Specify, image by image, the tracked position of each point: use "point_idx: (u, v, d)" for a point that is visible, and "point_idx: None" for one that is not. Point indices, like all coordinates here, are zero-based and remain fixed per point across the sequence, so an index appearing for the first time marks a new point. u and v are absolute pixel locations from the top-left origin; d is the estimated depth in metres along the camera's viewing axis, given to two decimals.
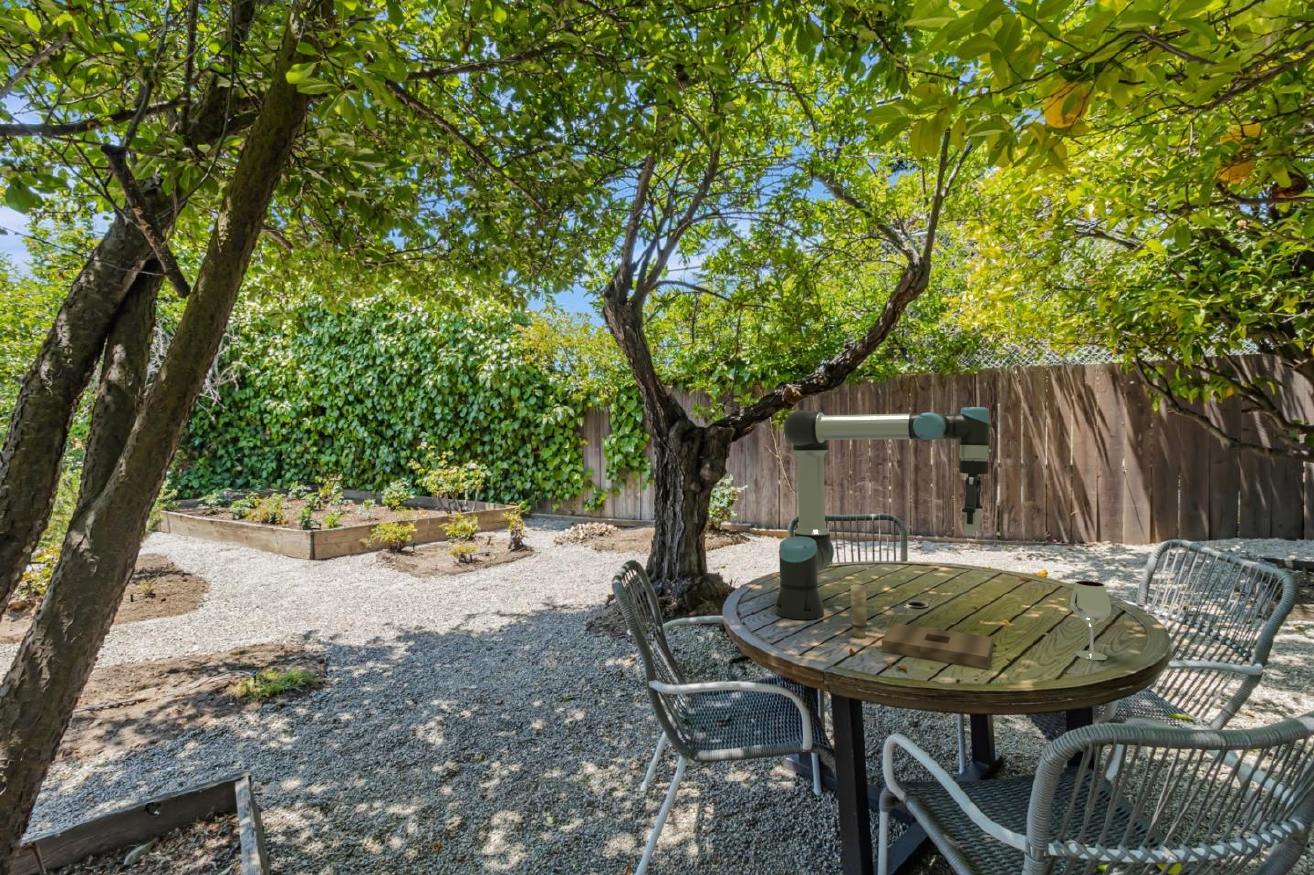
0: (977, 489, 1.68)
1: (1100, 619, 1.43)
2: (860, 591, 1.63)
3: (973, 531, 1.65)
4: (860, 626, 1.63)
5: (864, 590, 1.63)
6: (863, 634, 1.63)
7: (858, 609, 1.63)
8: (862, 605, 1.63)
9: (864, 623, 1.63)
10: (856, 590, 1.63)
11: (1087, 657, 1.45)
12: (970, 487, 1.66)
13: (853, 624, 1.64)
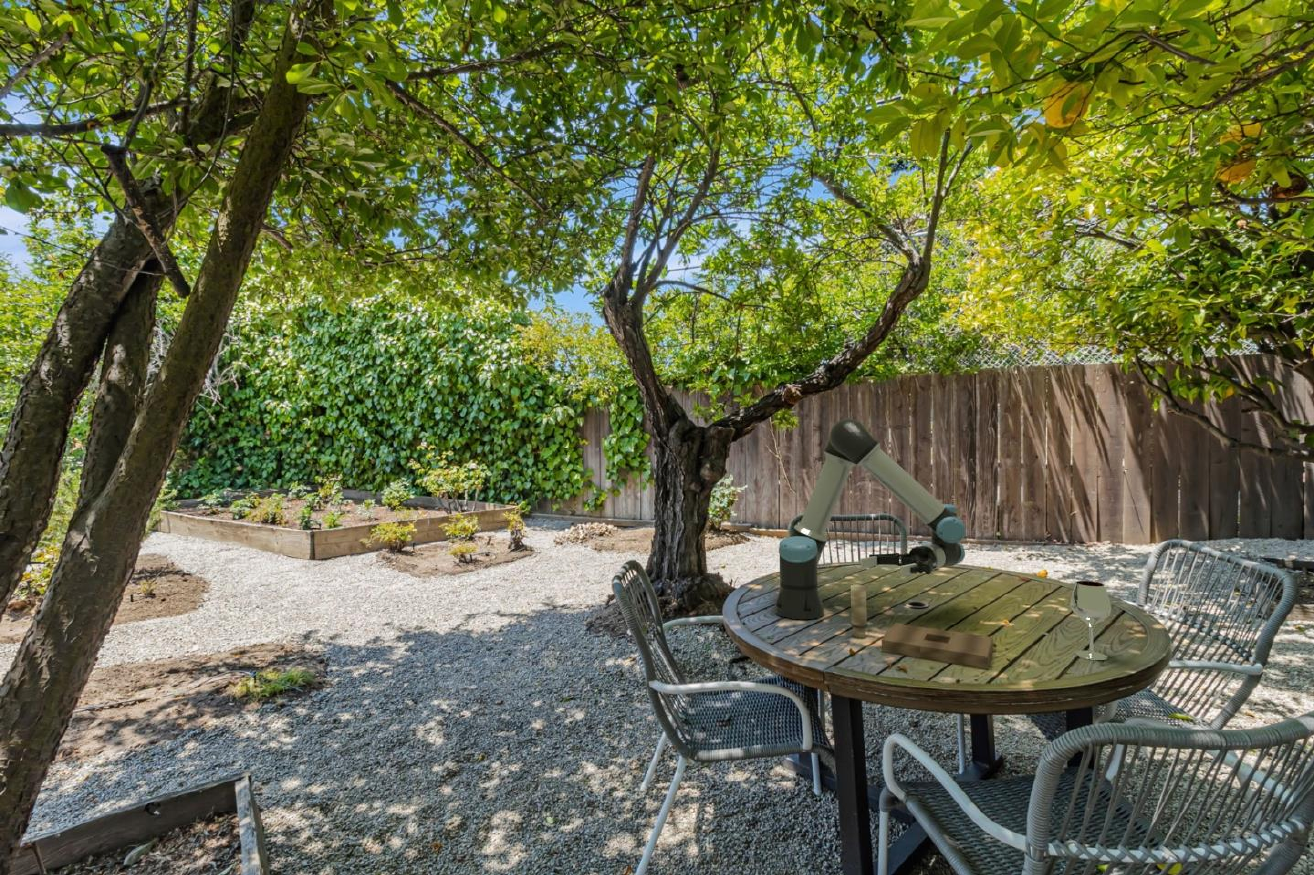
0: None
1: (1100, 619, 1.43)
2: (860, 591, 1.63)
3: (905, 574, 1.64)
4: (860, 626, 1.63)
5: (864, 590, 1.63)
6: (863, 634, 1.63)
7: (858, 609, 1.63)
8: (862, 605, 1.63)
9: (864, 623, 1.63)
10: (855, 590, 1.63)
11: (1087, 657, 1.45)
12: (932, 565, 1.71)
13: (853, 624, 1.64)
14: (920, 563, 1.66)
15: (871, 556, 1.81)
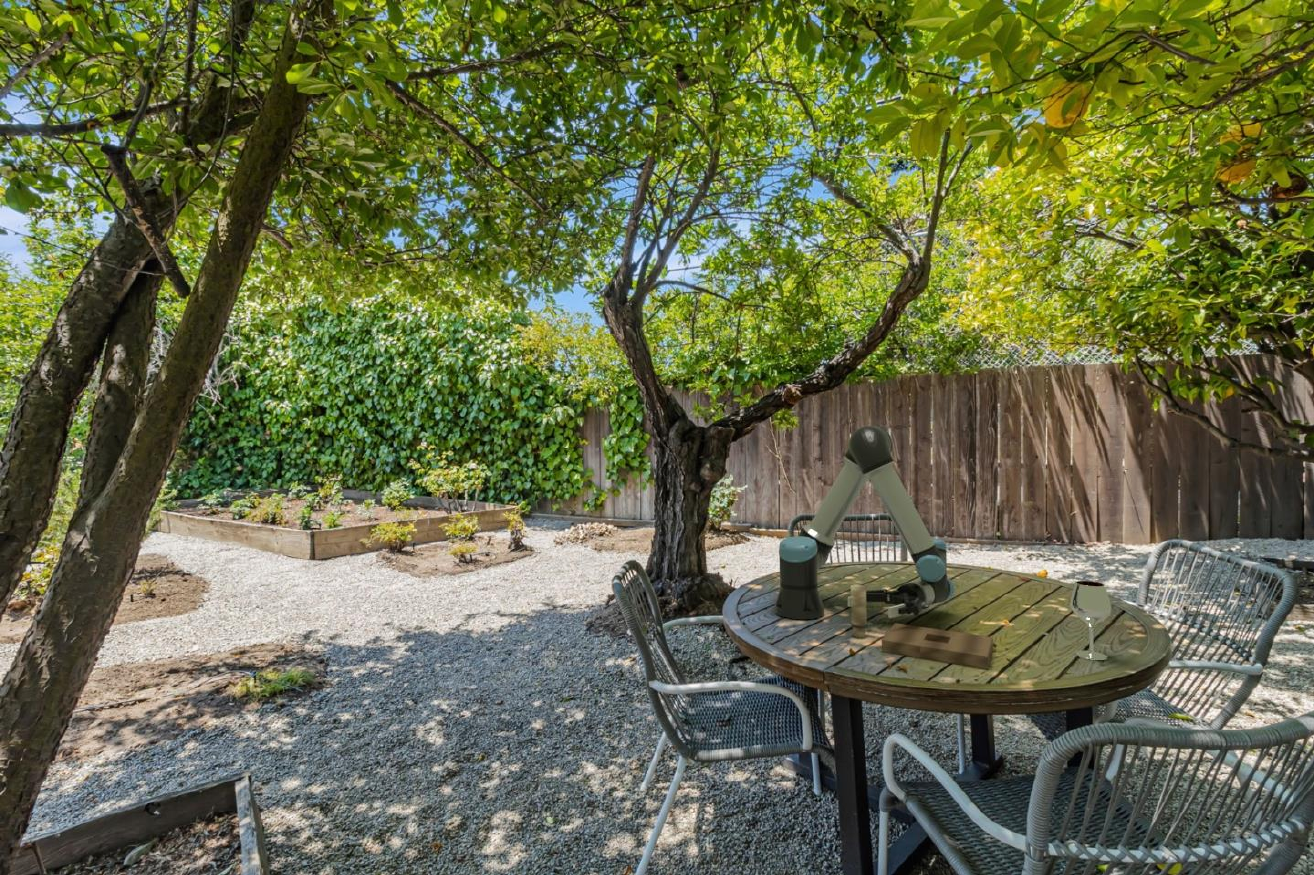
0: None
1: (1100, 619, 1.43)
2: (860, 591, 1.63)
3: (893, 615, 1.60)
4: (860, 626, 1.63)
5: (864, 590, 1.63)
6: (863, 634, 1.63)
7: (858, 609, 1.63)
8: (862, 605, 1.63)
9: (864, 623, 1.63)
10: (856, 590, 1.63)
11: (1087, 657, 1.45)
12: (921, 604, 1.66)
13: (853, 624, 1.64)
14: (908, 604, 1.62)
15: None
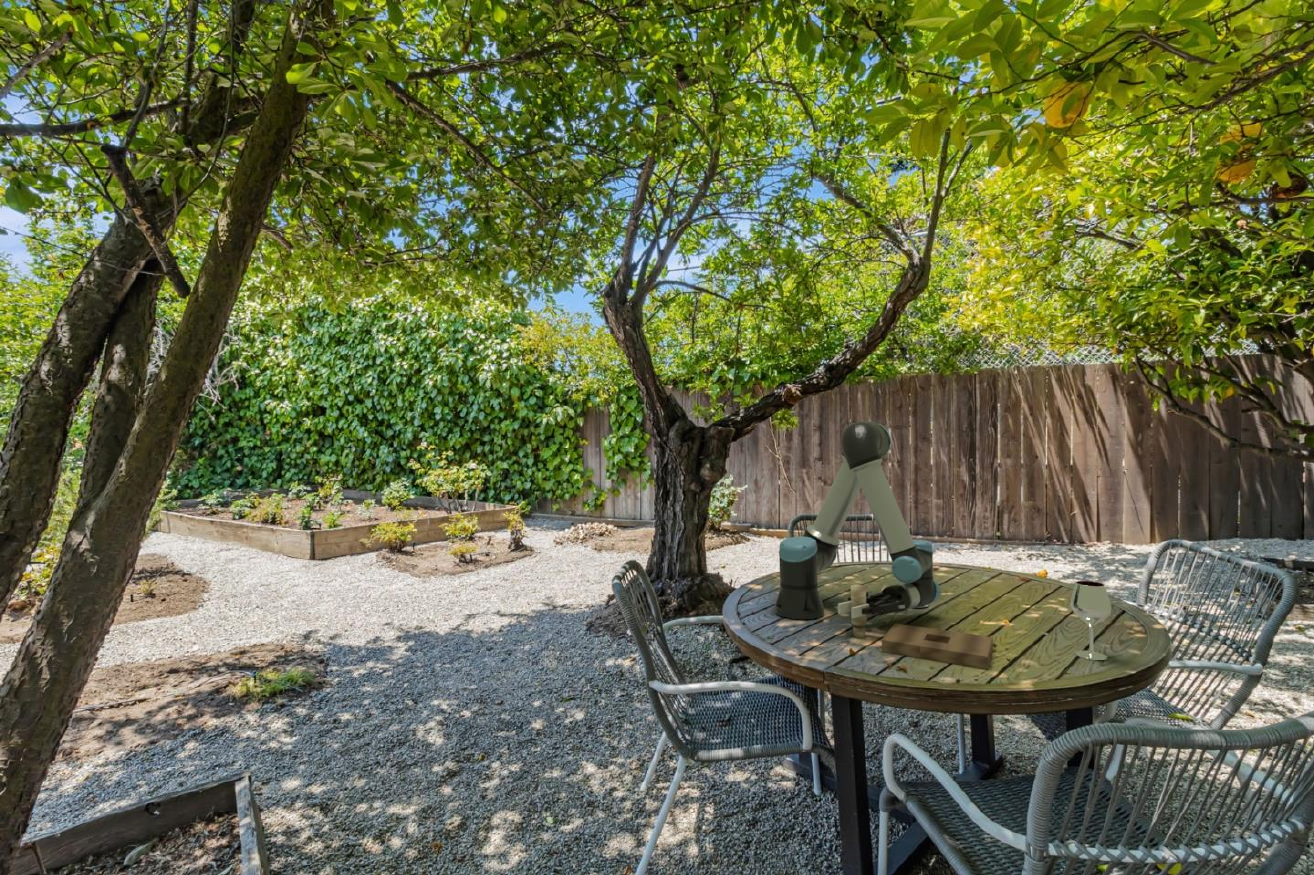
0: None
1: (1100, 619, 1.43)
2: (860, 591, 1.63)
3: (856, 615, 1.60)
4: (860, 626, 1.63)
5: (864, 590, 1.63)
6: (863, 634, 1.63)
7: None
8: None
9: (864, 623, 1.63)
10: (855, 590, 1.63)
11: (1087, 657, 1.45)
12: (896, 607, 1.64)
13: (853, 624, 1.64)
14: (871, 604, 1.62)
15: (850, 599, 1.70)
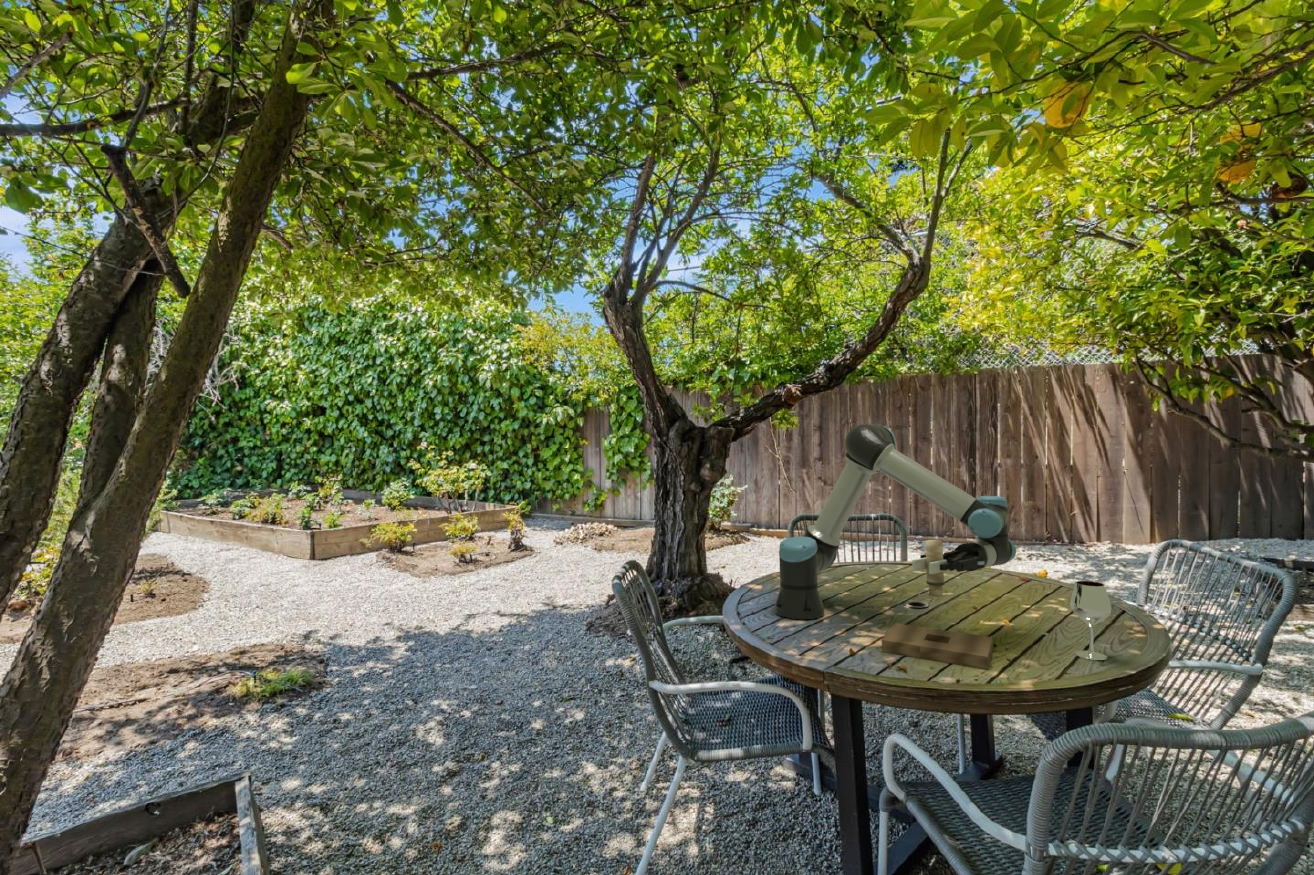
0: None
1: (1100, 619, 1.43)
2: (937, 545, 1.51)
3: (935, 571, 1.49)
4: (937, 583, 1.51)
5: (941, 545, 1.51)
6: (940, 592, 1.51)
7: None
8: None
9: (941, 580, 1.51)
10: (932, 545, 1.51)
11: (1087, 657, 1.45)
12: (975, 563, 1.52)
13: (929, 582, 1.52)
14: (949, 559, 1.51)
15: (923, 557, 1.58)
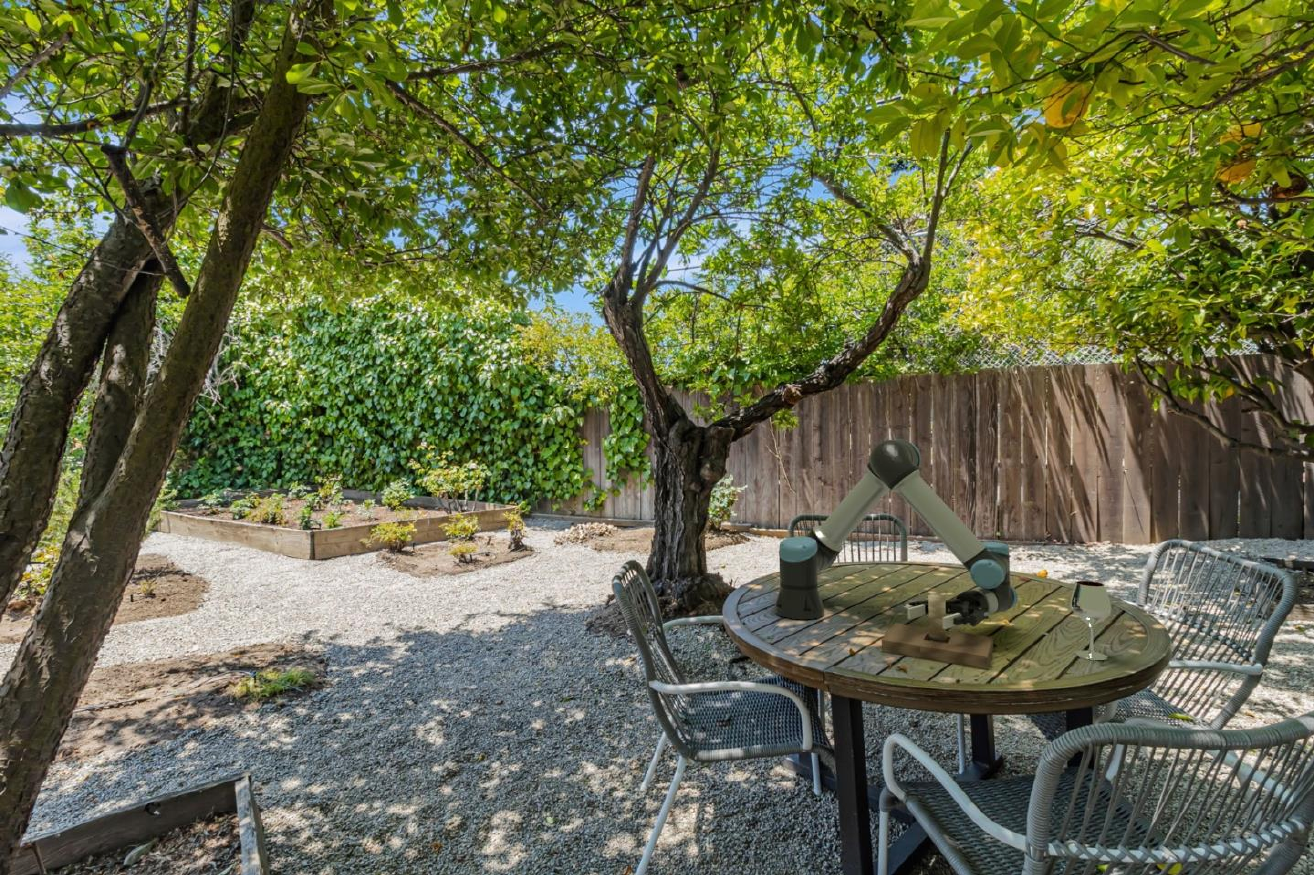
0: None
1: (1100, 619, 1.43)
2: (940, 601, 1.51)
3: (948, 626, 1.47)
4: (940, 639, 1.51)
5: (944, 600, 1.51)
6: None
7: (937, 621, 1.51)
8: None
9: (944, 636, 1.51)
10: (935, 601, 1.51)
11: (1087, 657, 1.45)
12: (983, 615, 1.52)
13: (931, 637, 1.52)
14: (964, 613, 1.49)
15: (918, 604, 1.60)
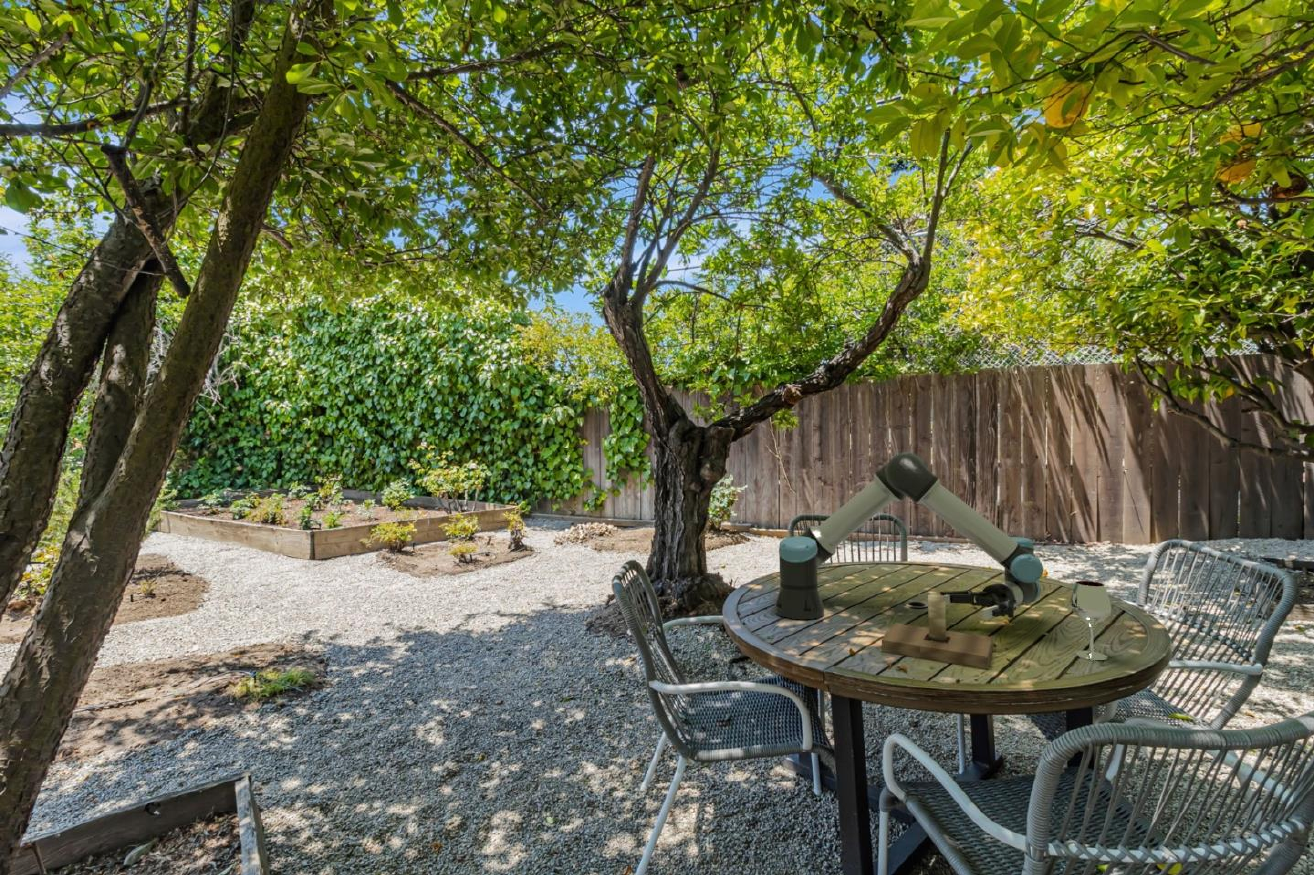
0: None
1: (1100, 619, 1.43)
2: (940, 601, 1.51)
3: (987, 618, 1.52)
4: (940, 639, 1.51)
5: (944, 600, 1.51)
6: None
7: (937, 621, 1.51)
8: (942, 617, 1.51)
9: (944, 636, 1.51)
10: (934, 600, 1.51)
11: (1087, 657, 1.45)
12: (1013, 606, 1.59)
13: (931, 637, 1.52)
14: (1002, 605, 1.54)
15: (942, 594, 1.69)
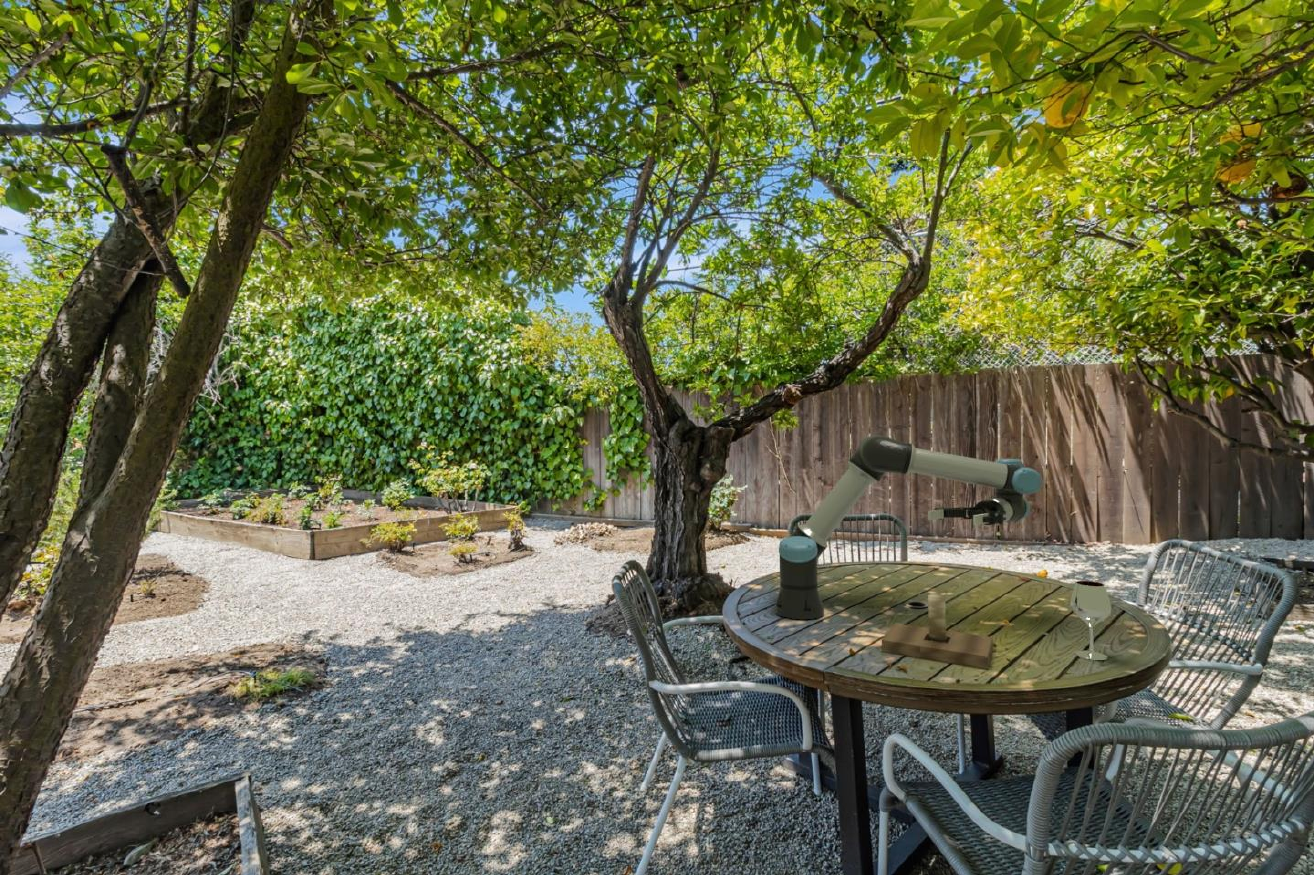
0: None
1: (1100, 619, 1.43)
2: (940, 601, 1.51)
3: (978, 523, 1.63)
4: (940, 639, 1.51)
5: (944, 600, 1.51)
6: None
7: (937, 621, 1.51)
8: (942, 617, 1.51)
9: (944, 636, 1.51)
10: (935, 601, 1.51)
11: (1087, 657, 1.45)
12: (1003, 516, 1.69)
13: (931, 637, 1.52)
14: (992, 513, 1.65)
15: (937, 510, 1.80)
